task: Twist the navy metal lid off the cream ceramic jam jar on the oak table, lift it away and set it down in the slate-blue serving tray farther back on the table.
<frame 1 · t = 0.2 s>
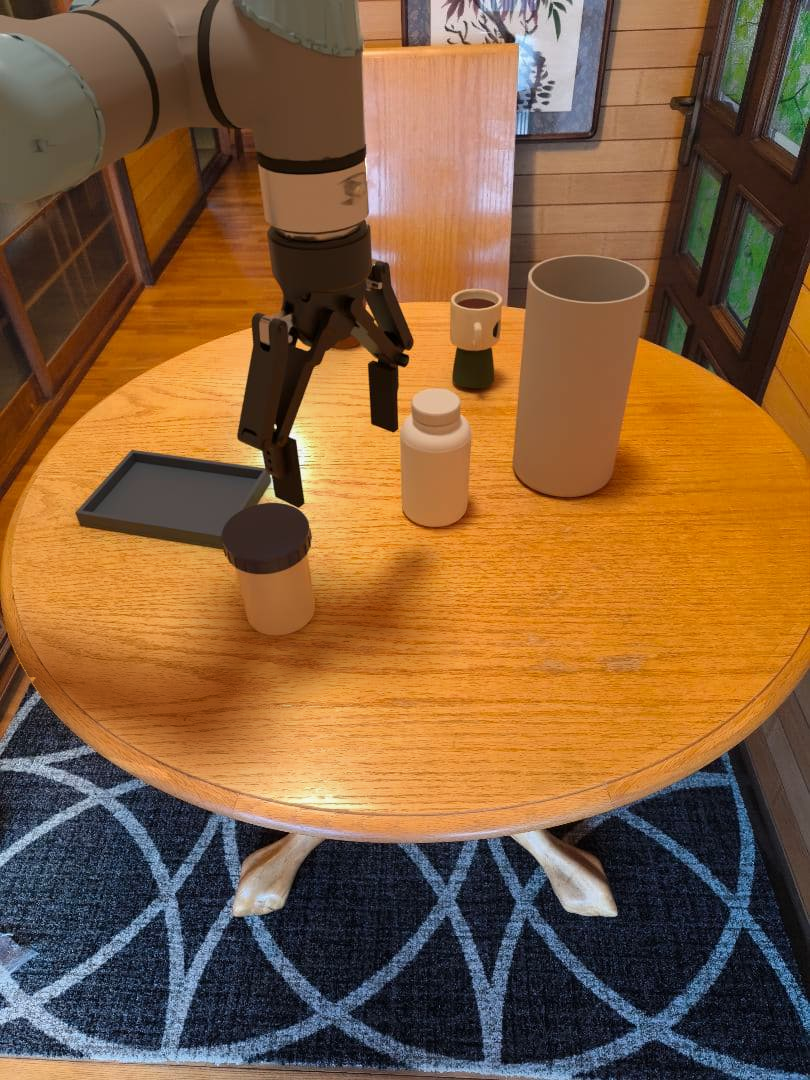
hand: (340, 461, 69), 18 cm above the table, tool pointing down, fingers open, 13 cm apart
jar: (281, 609, 80), on the table
disposable coffee cup: (344, 340, 125), on the table
lid: (266, 533, 73), point 11 cm above the table, screwed on, not yet turned
tray: (178, 502, 94), on the table
cylinder vase: (561, 470, 97), on the table
pill bottle: (435, 508, 92), on the table
character mug: (473, 383, 114), on the table
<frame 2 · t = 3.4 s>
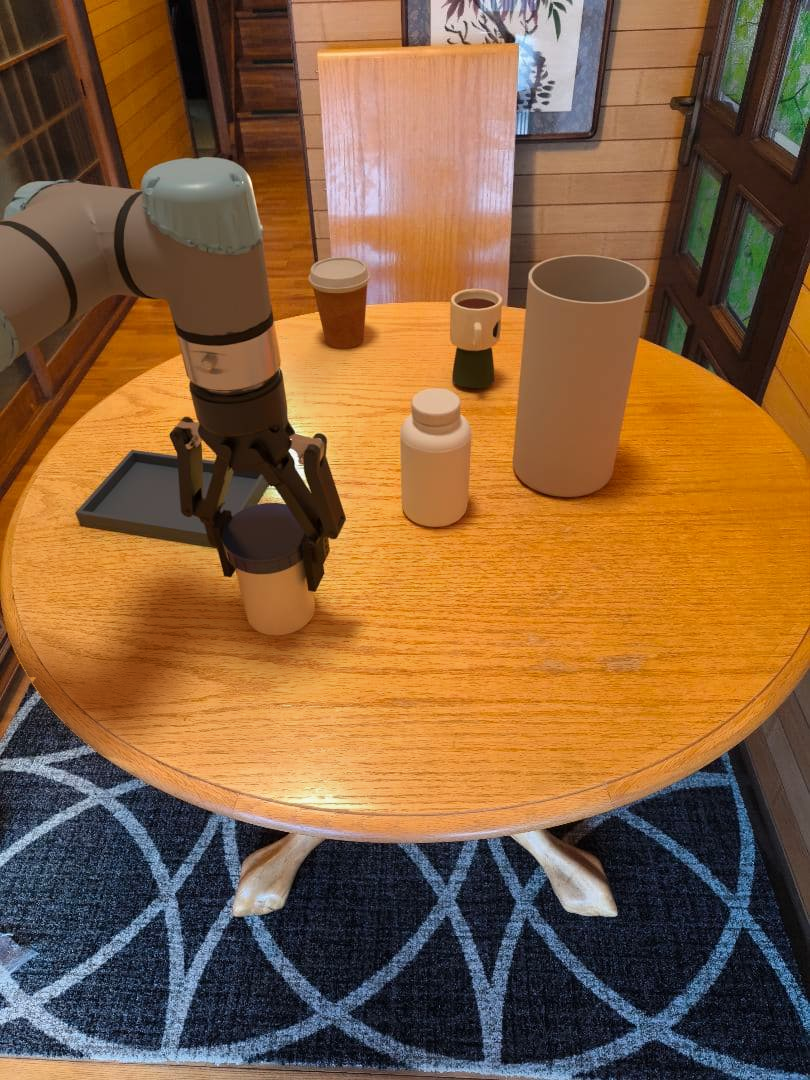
hand: (274, 574, 76), 5 cm above the table, tool pointing down, fingers closed on lid, 8 cm apart
lid: (266, 533, 73), point 11 cm above the table, screwed on, not yet turned, touching gripper
everything else where it was.
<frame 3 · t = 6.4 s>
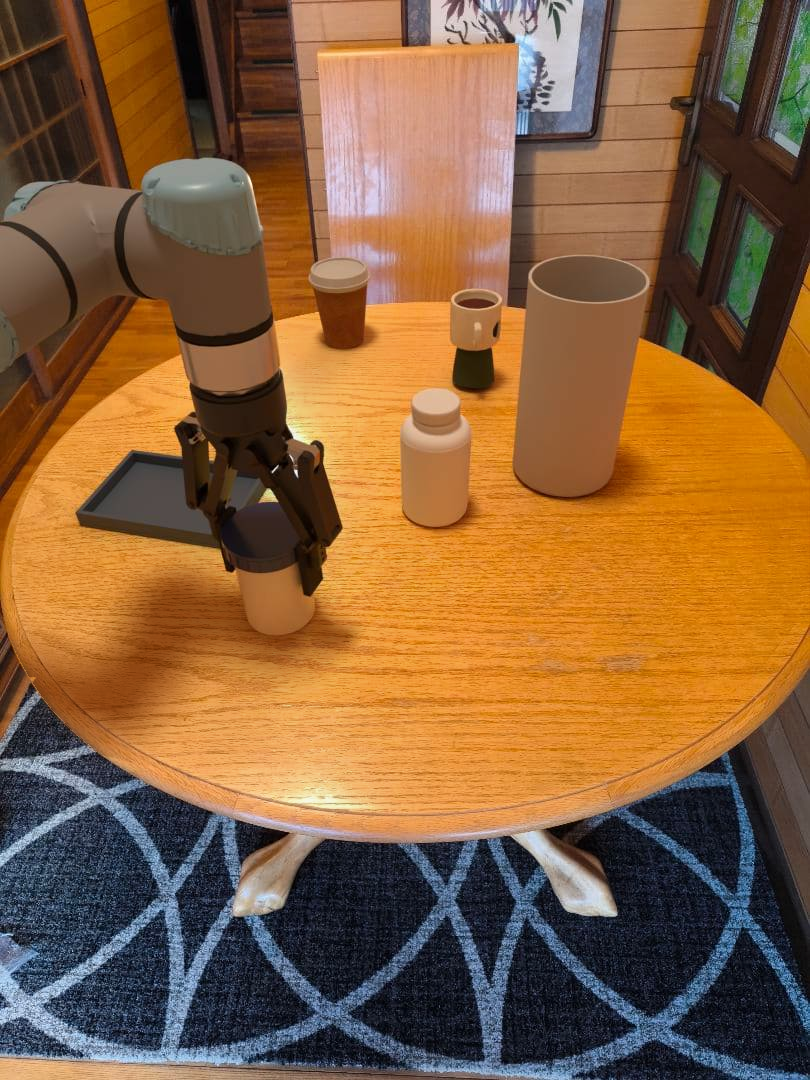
hand: (274, 574, 77), 5 cm above the table, tool pointing down, fingers closed on lid, 8 cm apart
lid: (265, 532, 73), point 11 cm above the table, off its thread, touching gripper
everything else where it was.
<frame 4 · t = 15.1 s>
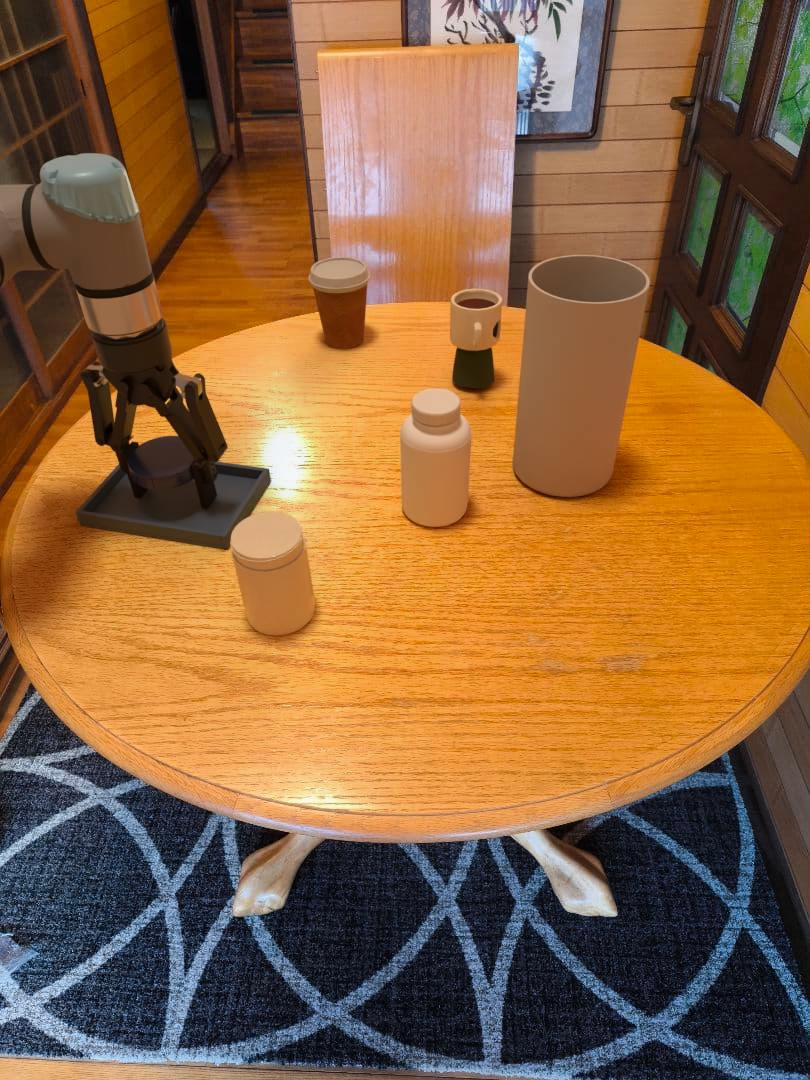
hand: (176, 496, 93), 1 cm above the table, tool pointing down, fingers closed on lid, 8 cm apart
lid: (164, 458, 89), point 7 cm above the table, off its thread, touching gripper
everything else where it was.
when the fingers open (2 cm above the table, at t = 24.5 s): lid drops 1 cm, resting on tray.
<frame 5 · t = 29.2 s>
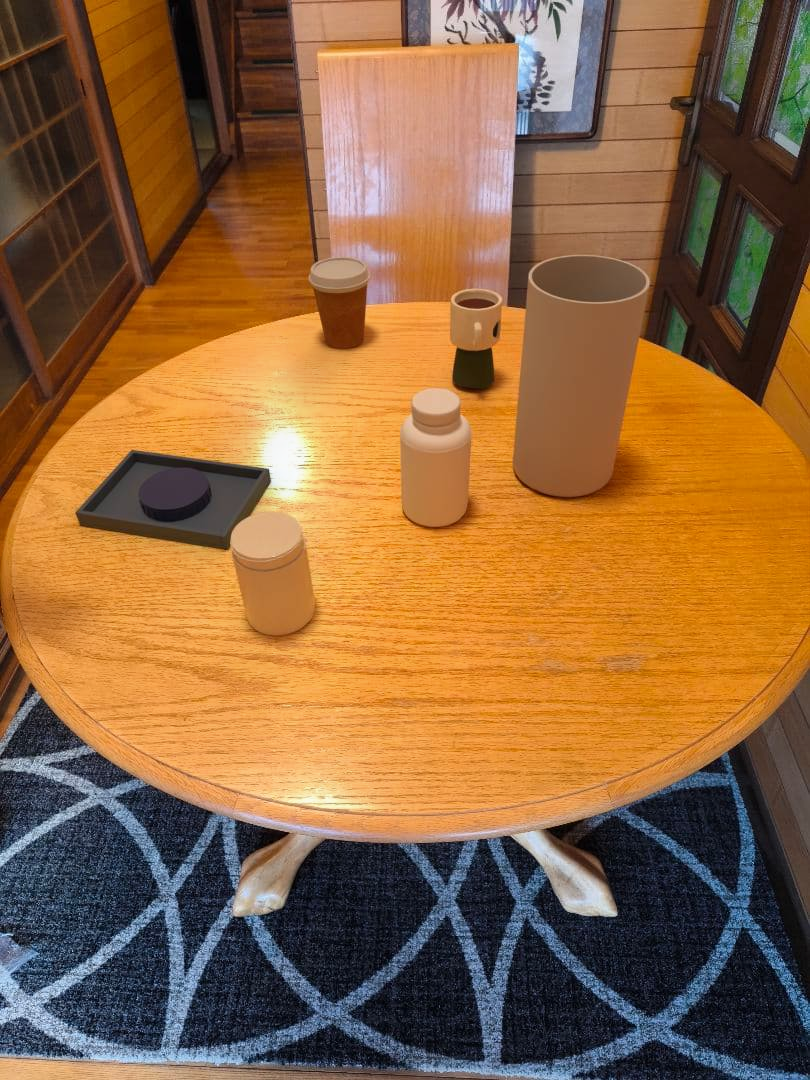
lid: (174, 490, 92), point 2 cm above the table, off its thread, touching tray
everything else where it was.
at the end: lid came off its thread; lid inside the target area on the tray (0.1 cm from its centre), point 2.0 cm above the tray's base; the gripper is holding nothing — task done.
